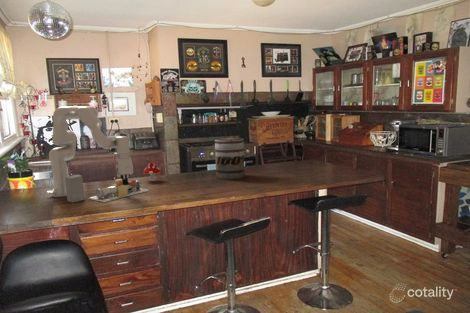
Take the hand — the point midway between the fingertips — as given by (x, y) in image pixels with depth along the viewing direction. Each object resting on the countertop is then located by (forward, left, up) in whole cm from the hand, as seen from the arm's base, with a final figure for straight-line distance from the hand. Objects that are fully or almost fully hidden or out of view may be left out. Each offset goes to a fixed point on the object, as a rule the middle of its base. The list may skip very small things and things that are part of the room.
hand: (125, 184), depth 227 cm
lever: (+2, +3, -1) cm, 4 cm away
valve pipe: (+2, +9, -8) cm, 12 cm away
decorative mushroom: (+42, +24, -8) cm, 49 cm away
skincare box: (-22, +20, -8) cm, 31 cm away
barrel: (+85, -18, -8) cm, 87 cm away
